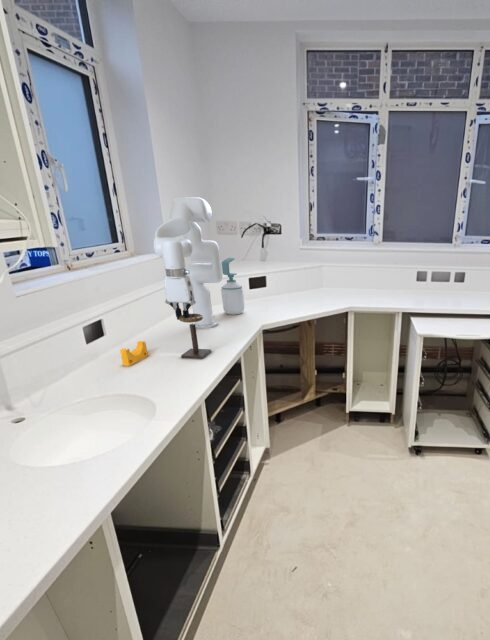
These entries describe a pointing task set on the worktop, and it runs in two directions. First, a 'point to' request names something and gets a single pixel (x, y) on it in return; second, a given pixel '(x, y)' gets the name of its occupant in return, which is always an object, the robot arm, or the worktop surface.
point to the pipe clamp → (134, 354)
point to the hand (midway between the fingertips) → (183, 318)
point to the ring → (191, 318)
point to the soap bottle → (231, 292)
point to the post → (195, 347)
